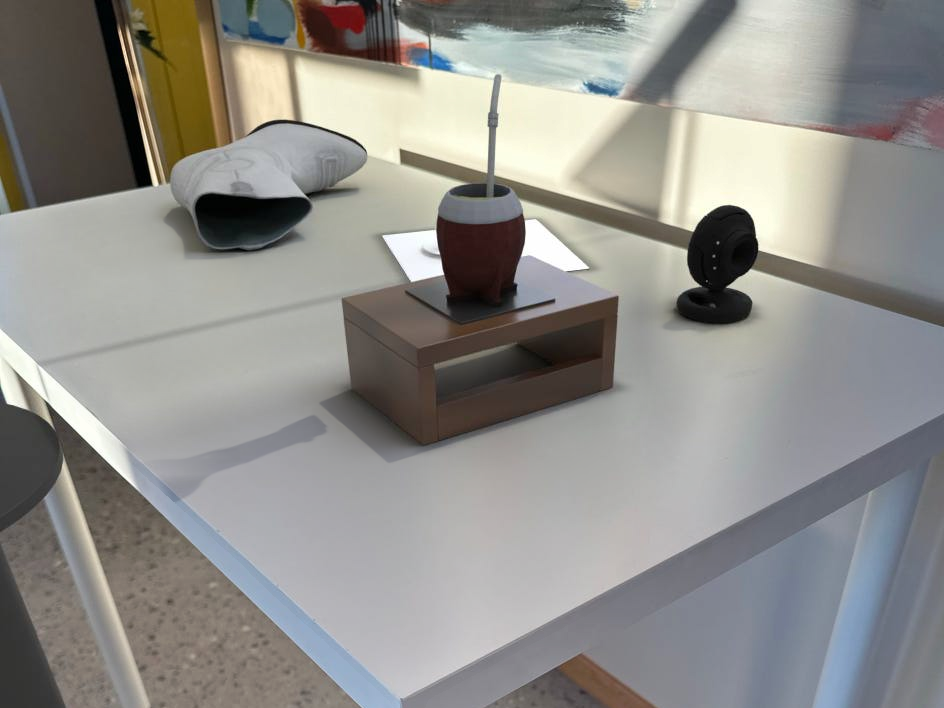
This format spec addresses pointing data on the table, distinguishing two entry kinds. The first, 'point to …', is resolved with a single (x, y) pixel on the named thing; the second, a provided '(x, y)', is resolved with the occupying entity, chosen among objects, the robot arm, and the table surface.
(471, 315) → the shelf
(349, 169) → the cowboy boot
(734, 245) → the webcam
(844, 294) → the table surface
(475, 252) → the mate gourd
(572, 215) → the table surface
